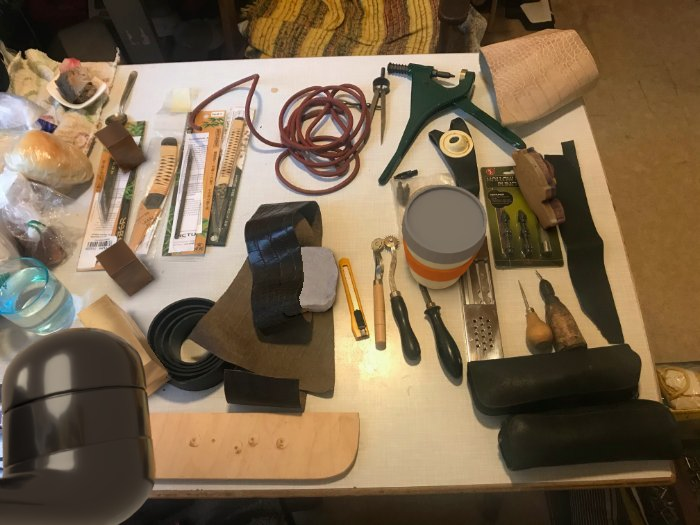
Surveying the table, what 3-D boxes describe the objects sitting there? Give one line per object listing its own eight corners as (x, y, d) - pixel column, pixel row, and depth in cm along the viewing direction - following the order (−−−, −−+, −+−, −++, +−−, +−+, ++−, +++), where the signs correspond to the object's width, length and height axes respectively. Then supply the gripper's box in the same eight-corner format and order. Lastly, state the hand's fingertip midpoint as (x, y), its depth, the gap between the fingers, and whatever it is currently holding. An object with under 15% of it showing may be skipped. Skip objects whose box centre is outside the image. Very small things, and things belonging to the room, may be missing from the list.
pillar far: (125, 175, 101) (106, 148, 94) (113, 161, 103) (94, 133, 96) (147, 161, 102) (130, 133, 95) (135, 147, 104) (117, 119, 97)
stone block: (332, 255, 92) (276, 256, 90) (336, 242, 88) (277, 243, 86) (339, 317, 86) (279, 319, 85) (343, 306, 82) (280, 308, 80)
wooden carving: (567, 232, 90) (587, 198, 81) (543, 240, 89) (561, 207, 80) (520, 163, 97) (533, 126, 88) (498, 171, 97) (510, 134, 88)
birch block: (146, 398, 79) (120, 383, 71) (104, 335, 85) (76, 314, 77) (174, 377, 81) (151, 359, 73) (131, 316, 86) (105, 294, 78)
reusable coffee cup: (394, 238, 91) (396, 187, 78) (464, 231, 91) (479, 178, 78) (404, 303, 85) (408, 259, 72) (479, 295, 85) (498, 250, 71)
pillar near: (131, 297, 88) (109, 276, 81) (117, 278, 90) (94, 256, 83) (156, 279, 89) (136, 257, 82) (141, 261, 91) (122, 238, 84)
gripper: (12, 384, 41) (21, 420, 54) (16, 568, 36) (25, 557, 50) (115, 371, 45) (99, 407, 58) (129, 535, 40) (109, 534, 54)
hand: (65, 477), depth 54 cm, fingers closed
